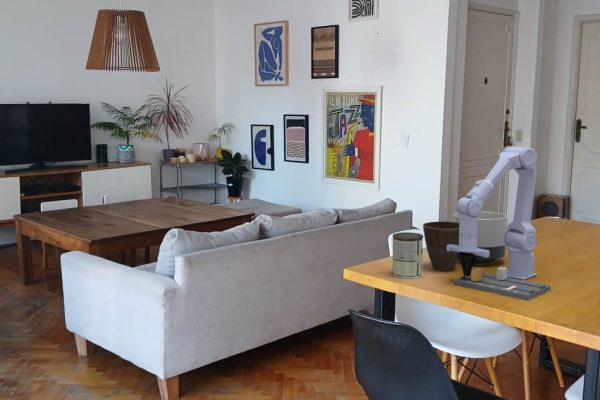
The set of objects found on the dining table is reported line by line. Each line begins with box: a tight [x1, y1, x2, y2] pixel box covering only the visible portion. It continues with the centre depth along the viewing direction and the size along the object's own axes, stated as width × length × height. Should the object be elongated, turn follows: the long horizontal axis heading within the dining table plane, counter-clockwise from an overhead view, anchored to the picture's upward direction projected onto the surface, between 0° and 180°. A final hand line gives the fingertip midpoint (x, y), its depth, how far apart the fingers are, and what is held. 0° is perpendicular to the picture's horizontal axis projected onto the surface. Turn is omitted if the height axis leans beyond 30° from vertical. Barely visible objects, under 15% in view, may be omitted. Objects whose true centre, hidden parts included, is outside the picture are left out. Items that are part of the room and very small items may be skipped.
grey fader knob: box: [496, 266, 508, 280], centre depth 204 cm, size 3×2×4 cm, turn 134°
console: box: [454, 272, 552, 301], centre depth 201 cm, size 15×25×2 cm, turn 44°
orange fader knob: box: [471, 267, 483, 281], centre depth 203 cm, size 3×2×4 cm, turn 134°
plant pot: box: [422, 221, 459, 272], centre depth 225 cm, size 15×15×16 cm
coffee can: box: [392, 231, 424, 280], centre depth 217 cm, size 10×10×14 cm
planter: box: [452, 210, 508, 265], centre depth 236 cm, size 19×19×18 cm
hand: (467, 275), depth 206 cm, fingers closed
